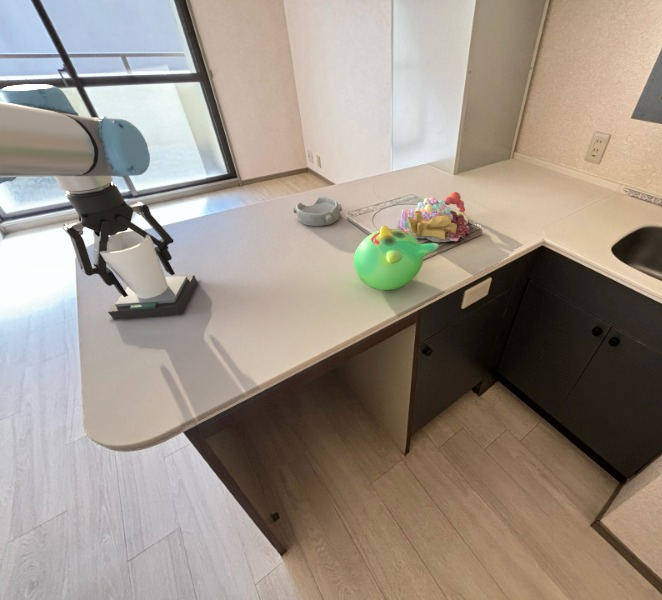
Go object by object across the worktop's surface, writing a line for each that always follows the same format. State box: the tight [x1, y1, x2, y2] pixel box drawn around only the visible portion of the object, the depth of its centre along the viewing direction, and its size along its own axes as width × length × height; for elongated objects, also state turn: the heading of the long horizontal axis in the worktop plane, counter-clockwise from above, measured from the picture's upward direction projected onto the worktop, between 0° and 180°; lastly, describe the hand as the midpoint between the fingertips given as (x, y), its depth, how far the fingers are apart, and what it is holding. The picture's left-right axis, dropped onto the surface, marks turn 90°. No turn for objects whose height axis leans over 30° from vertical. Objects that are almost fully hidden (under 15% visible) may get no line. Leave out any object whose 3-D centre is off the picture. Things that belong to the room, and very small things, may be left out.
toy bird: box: [353, 224, 440, 291], centre depth 81 cm, size 18×17×15 cm
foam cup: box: [95, 229, 168, 299], centre depth 71 cm, size 10×9×13 cm
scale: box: [107, 274, 198, 321], centre depth 76 cm, size 14×12×3 cm
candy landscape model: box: [399, 191, 472, 243], centre depth 107 cm, size 25×24×9 cm
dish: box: [292, 196, 343, 227], centre depth 110 cm, size 14×14×5 cm
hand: (148, 282), depth 74 cm, fingers closed on foam cup, 9 cm apart
